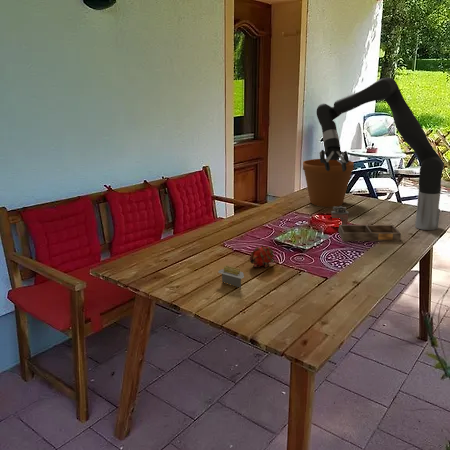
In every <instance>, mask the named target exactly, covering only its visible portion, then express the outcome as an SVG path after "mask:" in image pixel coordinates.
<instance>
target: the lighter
mask: <svg viewBox="0 0 450 450" xmlns="http://www.w3.org/2000/svg"><path fill="white" fill-rule="evenodd" d="M330 213H331V216H330V217H332V218H340V219H341V221H342V225H348V219H349V211H347V207H346V206H342V205H340V206H334V207H332V210H331V212H330Z"/></svg>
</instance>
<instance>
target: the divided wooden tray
mask: <svg viewBox="0 0 450 450" xmlns="http://www.w3.org/2000/svg"><path fill="white" fill-rule="evenodd" d="M338 232H339V233H338V235H339V236H340V238H341V241H342V242H401V232H400V231H399V230H398V229H397V228H396V226H394V225H393V224H347V225H339V228H338Z"/></svg>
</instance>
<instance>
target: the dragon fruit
mask: <svg viewBox="0 0 450 450" xmlns="http://www.w3.org/2000/svg"><path fill="white" fill-rule="evenodd" d="M274 261H275V254H274V250H273V249H272V248H271V247H270V246H267V247H265V246H264V245H261V247H255V248H254V250H252V251H251V253H250V257H249V262H250V263H251V264H252V267H253V268H260V267H262V266H263V267H264V269H265V268H267V267H268V266H269V264H272V263H274Z"/></svg>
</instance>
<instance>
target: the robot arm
mask: <svg viewBox="0 0 450 450" xmlns="http://www.w3.org/2000/svg"><path fill="white" fill-rule="evenodd" d="M380 100H381V101H382V100H384V101H385V102H386V104H387V105H388V107H389V108H390V110H391V113H392V117H393V122H394V126H395V128H396V130H397V132H398V133H399V134H400V136H401V139H403V141H404V142H405V143H406V144H407V145H408V147H410V149H412V151H414V153H415V154H416V156H417V158H418V160H419V162H420V167H419V174H418V175H419V176H418V177H419V178H418V195H417V203H416V214H415V223H414V226H415V227H414V228H416V229H419V230H424V231H433V230H438V229H439V223H440V222H439V221H440V216H441V215H440V214H441V209H440V208H439V207H440V198H441V191H442V175H443V172H444V170H445V162H444V161H443V159H442V157H440V155H439V154H438V153H437V151H436V150H435V149H434V147H433V146H432V145H431V142H430V141H429V139H428V136H427V135H426V133H425V131H424V129H423V127H422V125H421V124H420V122H419V121H418V119H417V117H416V115H415V114H414V113H413V111H412V110H411V108H410V107H409V104H407V102H406V100H405V98H404V96H403V94H402V92H401V89H400V87H399V85H398V83H397V81H396V80H395V79H393V78H392V77H387V76H386V77H383V78H379V79H378V80H376V81H375V82H373V83H372V84H371V85H369V86H366V87H365V88H364V89H362V90H360V91H358V92H354V93H352V94H348V95H347V96H344V97H341V98H339V99H337V100H335V101H334V103H333V106H330V105H329V104H327V103H320V104H319V105H317V108H316V117H317V120H318V123H319V125H320V126H321V131H322V141H323V147H324V149H321V151H319V159H320V162H321V163H324V164H325V169H326V170H327V171H329V170H330V166H329V162H328V161H329V160H337V161H338V162H340V163H341V164H342V171H343V172H344V171H346V169H347V167H346V164H347V163H348V162H349V161H350V159H349V155H348V154H349V153H348V152H347V150H344V151H342V150H341V142H340V137H339V134H338V131H337V125H336V123H335V119H337V118H339V117H340V116H341V115H342V114H344V113H347V112H349V111H350V112H351V111H352V110H355V109H356V108H358V107H360V106H363V105H365V104H368V103H371V102H376V101H380ZM325 156H326V157H325ZM325 159H326V160H325Z"/></svg>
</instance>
